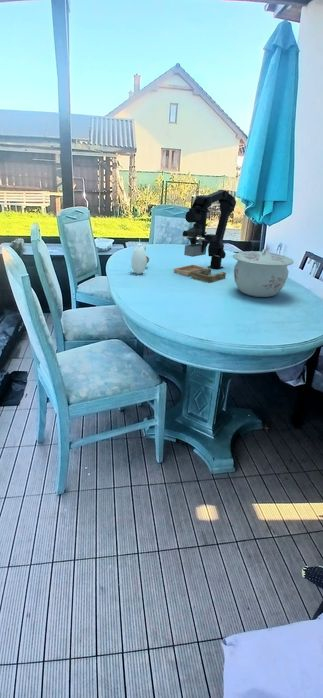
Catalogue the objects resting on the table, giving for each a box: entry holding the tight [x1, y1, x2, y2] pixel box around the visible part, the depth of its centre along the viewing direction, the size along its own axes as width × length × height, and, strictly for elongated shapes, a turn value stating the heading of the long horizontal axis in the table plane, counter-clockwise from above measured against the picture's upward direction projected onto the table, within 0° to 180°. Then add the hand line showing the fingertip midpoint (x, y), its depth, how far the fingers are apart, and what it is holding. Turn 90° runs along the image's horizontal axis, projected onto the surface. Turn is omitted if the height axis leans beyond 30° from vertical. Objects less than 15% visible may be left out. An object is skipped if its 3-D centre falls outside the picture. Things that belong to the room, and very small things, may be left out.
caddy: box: [184, 237, 208, 258], centre depth 203 cm, size 12×6×8 cm, turn 138°
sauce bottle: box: [130, 238, 148, 275], centre depth 199 cm, size 8×8×18 cm
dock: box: [190, 268, 227, 284], centre depth 201 cm, size 15×12×3 cm
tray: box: [173, 264, 208, 277], centre depth 211 cm, size 17×10×2 cm, turn 138°
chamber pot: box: [232, 248, 295, 298], centre depth 177 cm, size 28×28×21 cm
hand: (197, 251), depth 206 cm, fingers closed on caddy, 5 cm apart
